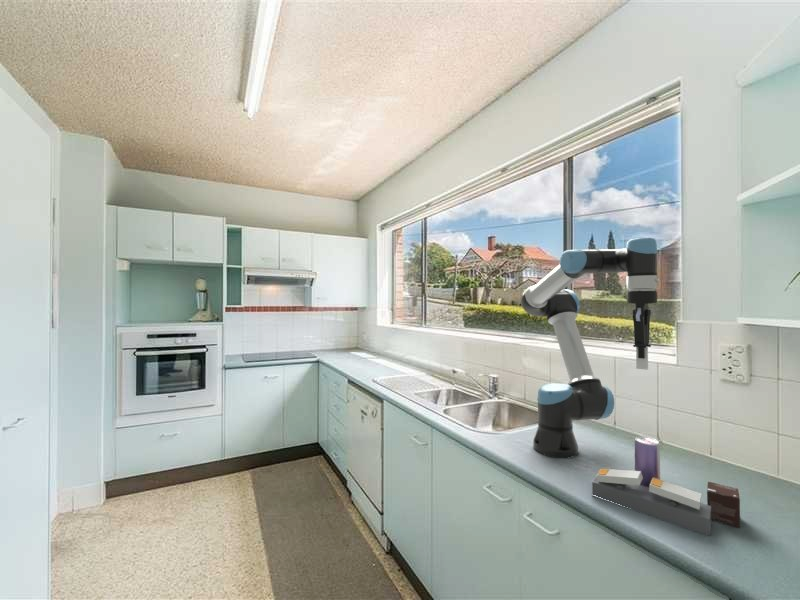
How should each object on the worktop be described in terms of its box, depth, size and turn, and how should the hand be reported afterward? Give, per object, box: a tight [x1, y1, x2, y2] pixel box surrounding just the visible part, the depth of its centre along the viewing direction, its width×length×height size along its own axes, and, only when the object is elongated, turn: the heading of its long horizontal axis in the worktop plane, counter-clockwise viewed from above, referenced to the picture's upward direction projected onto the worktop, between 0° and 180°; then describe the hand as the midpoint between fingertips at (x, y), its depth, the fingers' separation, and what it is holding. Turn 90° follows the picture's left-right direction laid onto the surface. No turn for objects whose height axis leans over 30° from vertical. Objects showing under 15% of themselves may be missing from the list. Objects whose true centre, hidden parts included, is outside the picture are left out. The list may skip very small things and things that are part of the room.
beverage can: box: [634, 436, 661, 488], centre depth 102 cm, size 6×6×15 cm
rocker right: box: [649, 478, 702, 509], centre depth 91 cm, size 10×5×2 cm, turn 47°
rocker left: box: [596, 468, 643, 485], centre depth 99 cm, size 10×5×2 cm, turn 46°
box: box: [706, 481, 741, 529], centre depth 90 cm, size 6×6×7 cm
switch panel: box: [591, 476, 712, 537], centre depth 95 cm, size 25×7×5 cm, turn 47°
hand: (642, 368), depth 107 cm, fingers closed
